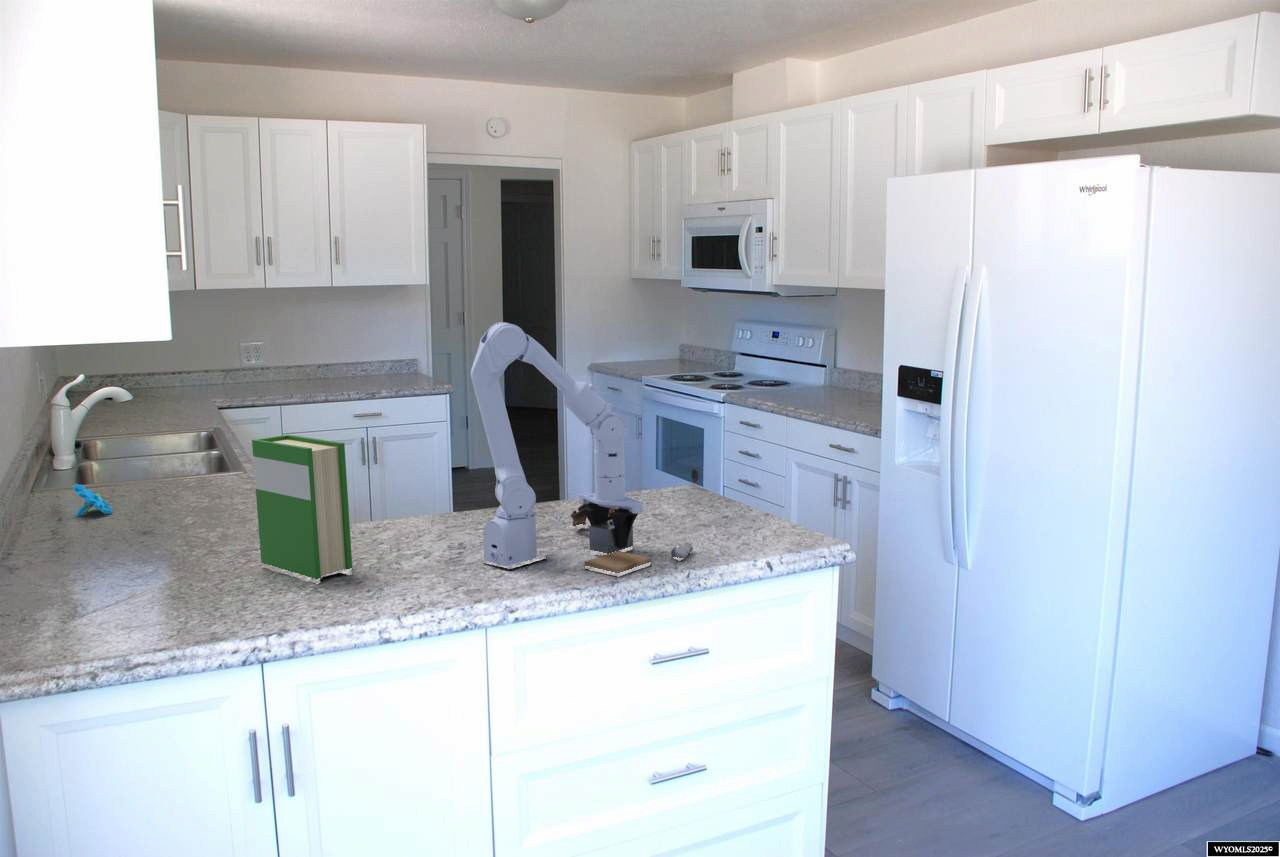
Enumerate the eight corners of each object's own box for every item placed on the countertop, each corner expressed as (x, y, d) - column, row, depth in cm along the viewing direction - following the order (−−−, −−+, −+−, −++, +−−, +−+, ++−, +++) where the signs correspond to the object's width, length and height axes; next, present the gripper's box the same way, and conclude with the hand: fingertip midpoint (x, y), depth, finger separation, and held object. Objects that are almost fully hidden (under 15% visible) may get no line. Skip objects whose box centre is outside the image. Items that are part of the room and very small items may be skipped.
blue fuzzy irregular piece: (108, 511, 228) (72, 482, 226) (89, 531, 227) (52, 502, 225) (120, 507, 239) (85, 480, 237) (102, 526, 238) (66, 499, 236)
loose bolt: (685, 562, 184) (685, 547, 184) (671, 560, 185) (671, 546, 185) (695, 553, 190) (695, 539, 189) (681, 552, 191) (681, 538, 190)
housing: (608, 558, 188) (607, 528, 187) (589, 554, 191) (589, 524, 190) (633, 550, 193) (632, 520, 192) (614, 546, 196) (614, 517, 195)
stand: (617, 577, 176) (617, 569, 175) (584, 569, 181) (584, 561, 181) (651, 565, 182) (650, 557, 182) (618, 558, 188) (618, 550, 187)
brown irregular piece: (611, 542, 202) (589, 507, 201) (579, 556, 207) (557, 522, 206) (639, 514, 211) (618, 481, 210) (607, 528, 217) (587, 496, 216)
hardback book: (352, 574, 181) (344, 442, 177) (316, 584, 175) (307, 448, 171) (297, 559, 192) (288, 434, 188) (261, 568, 186) (251, 440, 182)
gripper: (652, 475, 188) (654, 546, 190) (596, 467, 197) (598, 534, 199) (627, 482, 183) (629, 554, 185) (571, 473, 192) (573, 542, 194)
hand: (611, 545), depth 192 cm, fingers closed on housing, 5 cm apart
